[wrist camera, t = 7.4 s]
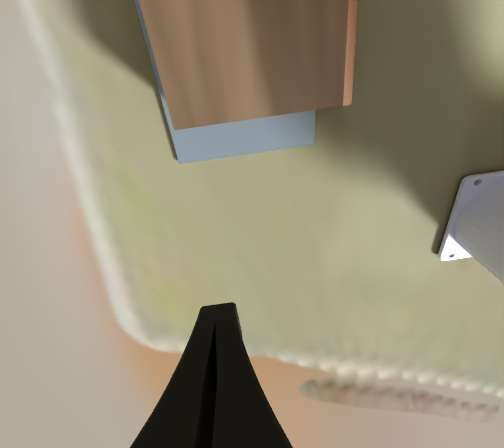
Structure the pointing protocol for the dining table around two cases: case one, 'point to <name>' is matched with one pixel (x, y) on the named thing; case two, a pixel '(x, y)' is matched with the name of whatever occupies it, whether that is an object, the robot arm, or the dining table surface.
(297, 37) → the brown wooden block
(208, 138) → the mat
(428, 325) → the dining table surface
